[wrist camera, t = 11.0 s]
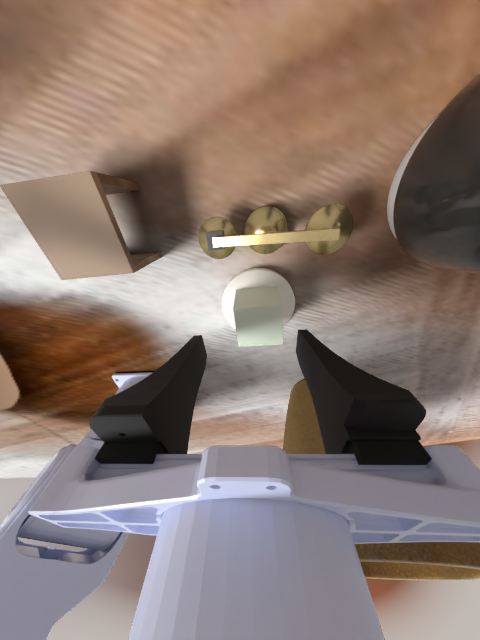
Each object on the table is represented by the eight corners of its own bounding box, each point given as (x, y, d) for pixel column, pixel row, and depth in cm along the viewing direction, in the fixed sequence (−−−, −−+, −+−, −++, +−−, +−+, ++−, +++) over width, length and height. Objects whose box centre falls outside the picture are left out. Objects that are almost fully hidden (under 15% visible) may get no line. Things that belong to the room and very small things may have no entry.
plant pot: (252, 372, 25) (255, 559, 12) (366, 344, 22) (555, 565, 8) (280, 425, 32) (302, 580, 19) (369, 410, 29) (474, 587, 15)
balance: (325, 246, 16) (358, 263, 11) (209, 257, 17) (193, 276, 12) (332, 198, 14) (376, 193, 9) (201, 213, 15) (178, 216, 10)
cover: (162, 256, 17) (133, 273, 13) (106, 262, 18) (61, 279, 14) (137, 182, 14) (89, 171, 10) (72, 191, 15) (-1, 185, 10)
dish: (291, 329, 21) (292, 334, 20) (227, 332, 22) (226, 337, 21) (295, 264, 17) (297, 267, 16) (217, 271, 18) (216, 274, 17)
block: (276, 320, 19) (282, 344, 16) (240, 323, 20) (238, 346, 16) (276, 286, 17) (283, 305, 14) (236, 289, 18) (233, 308, 14)
